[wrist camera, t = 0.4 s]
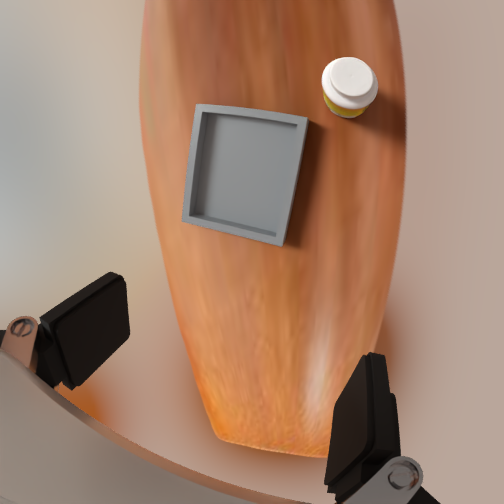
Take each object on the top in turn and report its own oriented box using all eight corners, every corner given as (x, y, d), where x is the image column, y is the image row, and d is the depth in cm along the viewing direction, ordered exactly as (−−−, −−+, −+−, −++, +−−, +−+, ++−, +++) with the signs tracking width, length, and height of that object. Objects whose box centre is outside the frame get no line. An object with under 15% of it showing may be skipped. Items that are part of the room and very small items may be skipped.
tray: (204, 106, 34) (196, 103, 32) (309, 120, 31) (307, 117, 29) (190, 217, 40) (181, 221, 38) (285, 240, 38) (281, 246, 35)
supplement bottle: (363, 124, 30) (376, 113, 21) (319, 111, 31) (314, 95, 22) (372, 84, 28) (386, 59, 18) (328, 71, 29) (326, 42, 19)
